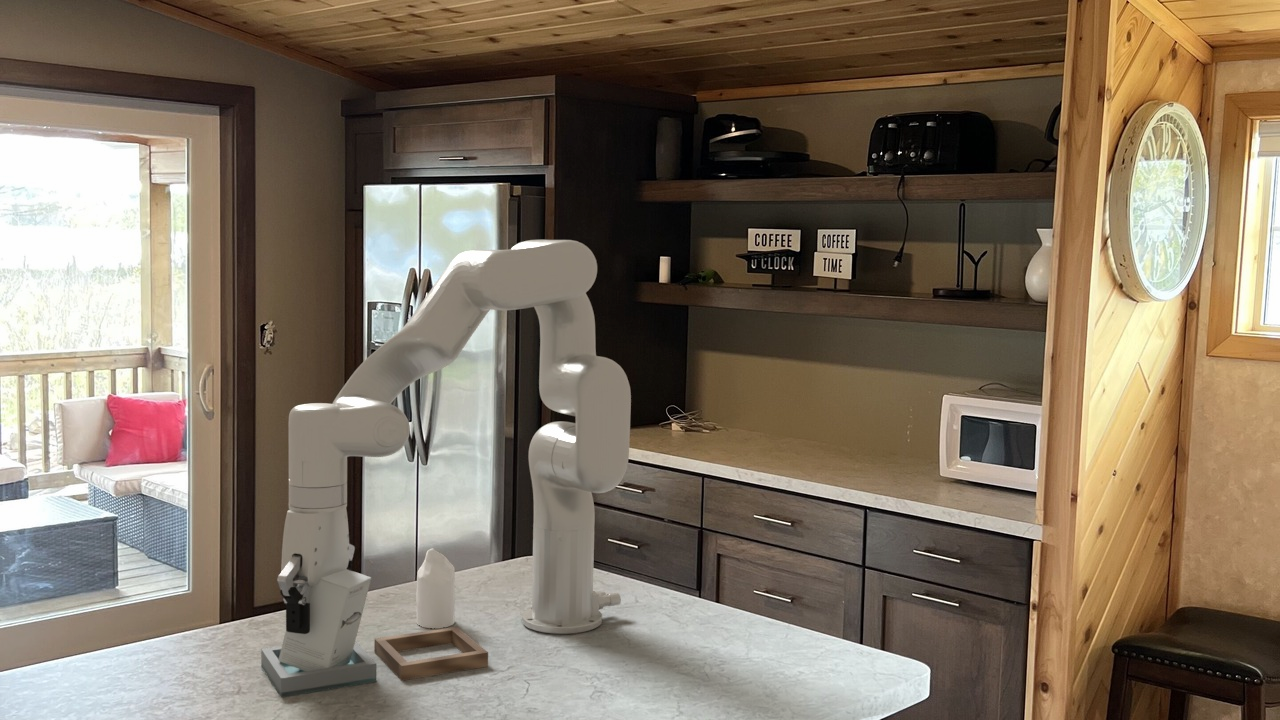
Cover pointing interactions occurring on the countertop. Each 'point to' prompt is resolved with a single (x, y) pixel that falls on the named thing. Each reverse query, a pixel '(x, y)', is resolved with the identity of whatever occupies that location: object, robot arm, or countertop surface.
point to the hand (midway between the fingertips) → (318, 621)
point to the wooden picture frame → (405, 670)
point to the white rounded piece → (435, 591)
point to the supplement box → (328, 623)
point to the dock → (317, 673)
